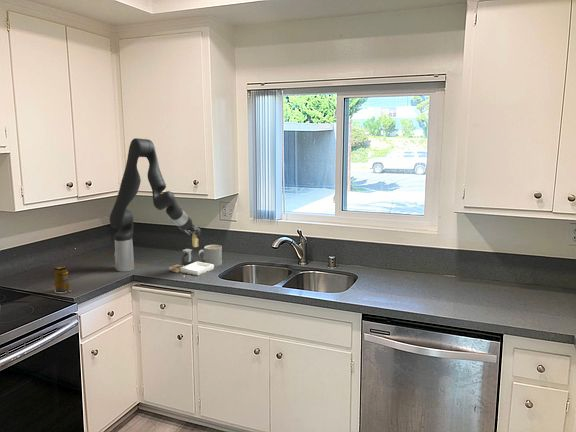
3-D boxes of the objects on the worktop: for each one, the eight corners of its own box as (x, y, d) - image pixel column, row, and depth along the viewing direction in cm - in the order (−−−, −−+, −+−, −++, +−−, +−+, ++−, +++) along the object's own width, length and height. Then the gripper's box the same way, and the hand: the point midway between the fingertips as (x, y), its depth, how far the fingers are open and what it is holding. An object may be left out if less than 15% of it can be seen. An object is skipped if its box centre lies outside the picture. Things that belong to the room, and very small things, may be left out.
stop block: (169, 270, 253) (169, 267, 253) (177, 267, 259) (176, 264, 258) (177, 272, 251) (177, 269, 250) (185, 269, 256) (185, 266, 255)
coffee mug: (224, 261, 271) (224, 245, 269) (218, 266, 261) (218, 249, 259) (202, 260, 273) (202, 244, 271) (196, 265, 264) (195, 248, 262)
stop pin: (190, 246, 250) (189, 228, 248) (195, 245, 253) (194, 226, 251) (196, 247, 248) (195, 229, 246) (200, 245, 251) (200, 227, 249)
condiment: (67, 287, 227) (65, 264, 225) (74, 291, 222) (72, 267, 219) (51, 291, 222) (49, 267, 220) (58, 295, 216) (56, 271, 214)
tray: (180, 272, 251) (180, 267, 250) (197, 265, 263) (197, 261, 262) (197, 275, 245) (197, 271, 245) (214, 268, 257) (214, 264, 257)
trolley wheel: (181, 267, 260) (180, 251, 258) (189, 264, 266) (188, 248, 264) (186, 268, 258) (185, 251, 256) (194, 265, 264) (193, 248, 262)
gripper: (195, 214, 237) (211, 233, 250) (174, 212, 244) (190, 230, 257) (188, 226, 234) (205, 244, 246) (167, 224, 240) (184, 241, 253)
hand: (197, 237), depth 251 cm, fingers closed on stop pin, 3 cm apart
